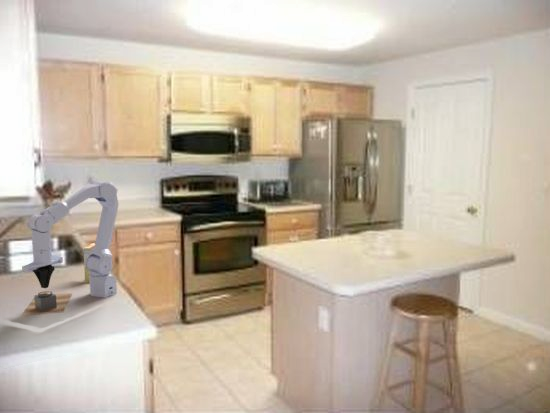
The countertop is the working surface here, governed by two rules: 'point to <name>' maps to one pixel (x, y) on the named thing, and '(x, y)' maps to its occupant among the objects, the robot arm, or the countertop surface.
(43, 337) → the countertop surface
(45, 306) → the knob
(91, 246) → the candy box
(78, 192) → the robot arm
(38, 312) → the parts board
